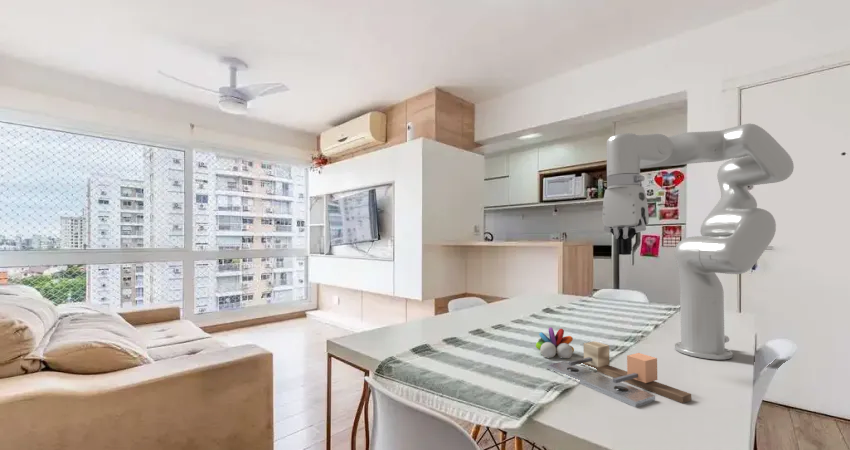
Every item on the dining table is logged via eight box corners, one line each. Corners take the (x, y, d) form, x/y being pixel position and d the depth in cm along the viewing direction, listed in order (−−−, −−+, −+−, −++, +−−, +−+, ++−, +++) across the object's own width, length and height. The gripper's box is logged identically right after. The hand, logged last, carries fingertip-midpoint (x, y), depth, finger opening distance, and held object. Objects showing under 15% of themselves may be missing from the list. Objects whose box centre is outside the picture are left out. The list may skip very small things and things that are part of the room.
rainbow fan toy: (577, 361, 94) (577, 332, 94) (537, 359, 96) (537, 331, 96) (570, 351, 102) (570, 324, 102) (534, 349, 104) (534, 323, 104)
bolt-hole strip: (565, 365, 91) (565, 360, 91) (655, 400, 71) (655, 395, 71) (547, 369, 88) (546, 364, 88) (635, 407, 68) (635, 401, 69)
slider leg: (639, 373, 81) (638, 352, 81) (657, 379, 78) (657, 358, 78) (605, 382, 76) (605, 360, 76) (623, 389, 73) (623, 366, 73)
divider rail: (588, 362, 93) (587, 339, 93) (692, 399, 72) (692, 370, 72) (556, 369, 88) (556, 345, 88) (658, 411, 67) (658, 380, 67)
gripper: (661, 180, 90) (663, 255, 89) (607, 187, 103) (608, 253, 103) (642, 177, 87) (644, 256, 86) (588, 185, 100) (589, 253, 99)
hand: (624, 254), depth 94 cm, fingers closed
